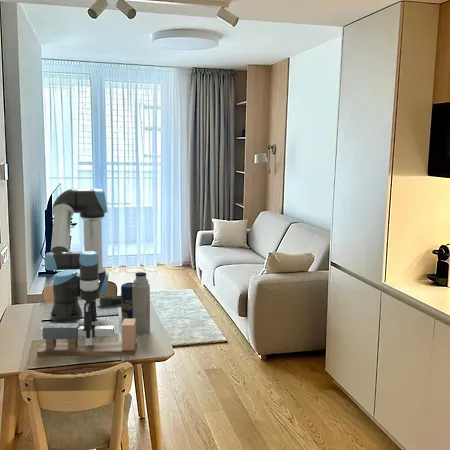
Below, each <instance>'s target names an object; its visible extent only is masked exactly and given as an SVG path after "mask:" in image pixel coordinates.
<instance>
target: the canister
mask: <svg viewBox="0 0 450 450" xmlns="http://www.w3.org/2000/svg"><path fill="white" fill-rule="evenodd" d="M133 284H134V282H126V283H122V284H121V286H120V296H121V305H120V310H121V317H122V318H123V319H133V300H132V285H133Z"/></svg>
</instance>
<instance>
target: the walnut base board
mask: <svg viewBox="0 0 450 450" xmlns="http://www.w3.org/2000/svg"><path fill="white" fill-rule="evenodd" d="M78 339H79V338H78ZM78 339H67V342H66V341H65V342H64V341H63V342H59V341H57V339H45V342H43V343H41V346H40V347H39V348H38V350H37V351H36V357H37V356H38V358H39V357H40V358H41V357H43V358H44V357H45V358H47V357H53V358H54V357H55V358H56V357H135V356H136V354H137V350H138V344H139V343H138V341H136V345H135V349H134V350H122V341H92V345H85V341H81V342H80V341H79V340H78Z"/></svg>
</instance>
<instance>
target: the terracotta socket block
mask: <svg viewBox="0 0 450 450" xmlns="http://www.w3.org/2000/svg"><path fill="white" fill-rule="evenodd" d="M121 342H122V350H134V349H135V345H136V342H137V334H136V318H135V319H126V318H123V320H122V324H121Z"/></svg>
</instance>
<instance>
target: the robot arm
mask: <svg viewBox="0 0 450 450" xmlns="http://www.w3.org/2000/svg"><path fill="white" fill-rule="evenodd" d="M107 205H108V204H107V199H106V191H104V190H103V189H102V188H70V189H67V190H65V191H62V192H61V193H60V194H59V195H58V197H56V199H55V200H54V202H53V204H52V210H51V211H52V215H53V220H52V221H53V223H52V232H51V233H52V234H51V242H50V243H51V246H50V252H45V253H44V268H45V270H46V271H55V272H56V271H58V272H57V273H55V274H54V275H53V277H52V286H53V287H52V289H53V290H52V291H53V305H52V308H51V311H50V320H51V321H53V322H56V323H57V322H58V323H69V322H70V323H71V322H74V321H75V322H76V321H77V320H80V319H81V318H82V317H83V326H84V329H83V331H85V336H84V342H85V345H92V342H93V337H92V329H91V325H96V326H97V322H98V321H99V319H98V316H97V315H98V313H97V299H98V298H99V297H100V296H105V295H107V292H108V285H109V275H110V273H109V272H107V271H106V270H107V269H106V268H105V267H104V266H103V238H102V237H103V230H102V228H103V227H102V226H103V225H102V220H103V219H104V218H105V214H107V213H108V206H107ZM74 214H79V217H80V219H82V220H83V221H82V223H83V251H70V240H71V225H72V223H71V222H72V217H73V216H74ZM77 270H79V273H78V271H77ZM79 298H80V299H81V300H84V301H85V302H84V306H83V311H82V308H81V306H80V302H79ZM96 337H97V336H95V337H94V338H96Z"/></svg>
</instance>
